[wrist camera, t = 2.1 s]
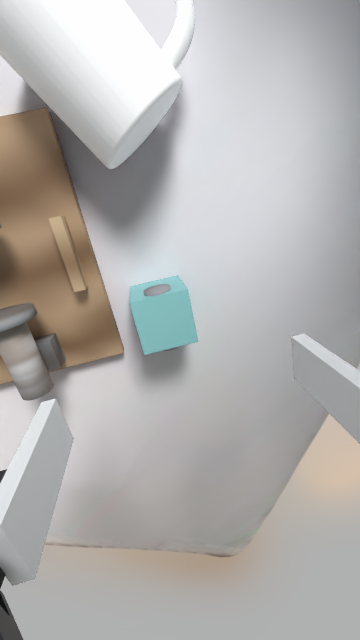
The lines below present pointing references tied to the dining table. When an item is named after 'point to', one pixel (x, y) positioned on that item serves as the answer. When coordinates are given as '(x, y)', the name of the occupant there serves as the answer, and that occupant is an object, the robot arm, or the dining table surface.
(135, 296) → the block
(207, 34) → the dining table surface
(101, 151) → the mug
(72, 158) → the dining table surface
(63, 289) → the shaft board
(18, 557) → the robot arm
